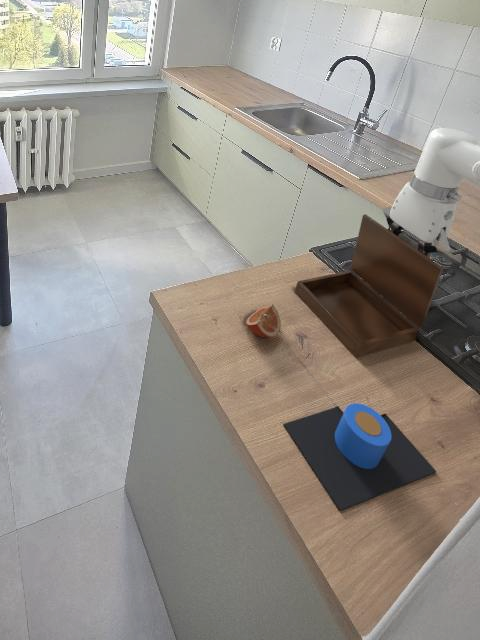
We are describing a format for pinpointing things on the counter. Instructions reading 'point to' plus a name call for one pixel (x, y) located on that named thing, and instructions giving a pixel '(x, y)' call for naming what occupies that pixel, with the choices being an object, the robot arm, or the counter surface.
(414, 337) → the chest
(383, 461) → the mat
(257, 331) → the fruit slice
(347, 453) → the tape roll
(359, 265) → the lid
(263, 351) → the counter surface
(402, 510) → the counter surface
